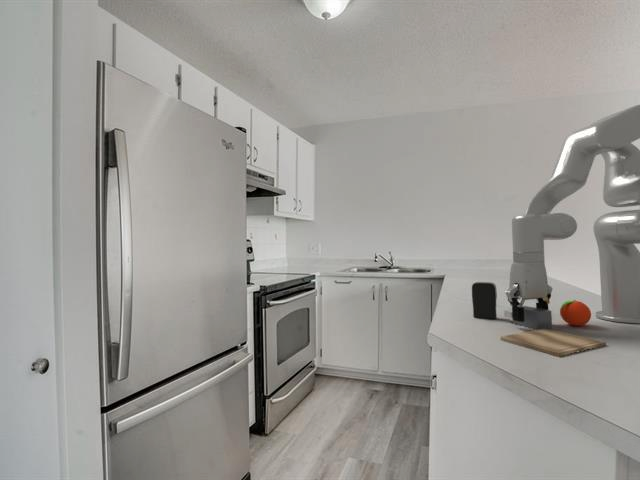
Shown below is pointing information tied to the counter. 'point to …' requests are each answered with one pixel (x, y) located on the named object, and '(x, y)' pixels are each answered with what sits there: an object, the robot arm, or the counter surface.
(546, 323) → the usb stick
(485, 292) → the battery charger
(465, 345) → the counter surface
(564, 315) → the clementine
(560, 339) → the board
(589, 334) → the counter surface
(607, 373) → the counter surface
